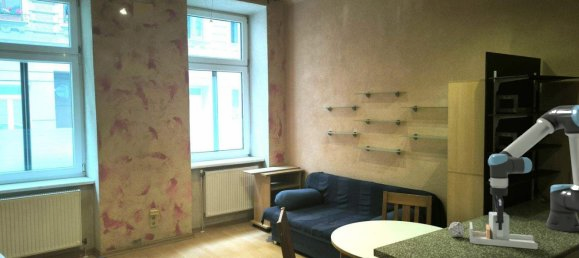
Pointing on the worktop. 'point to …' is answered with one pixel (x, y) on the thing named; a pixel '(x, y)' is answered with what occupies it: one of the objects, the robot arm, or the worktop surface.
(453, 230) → the game die
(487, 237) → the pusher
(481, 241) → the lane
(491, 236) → the supplement box
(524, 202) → the worktop surface
